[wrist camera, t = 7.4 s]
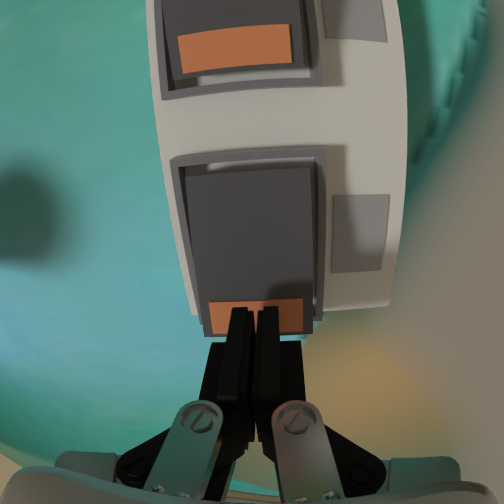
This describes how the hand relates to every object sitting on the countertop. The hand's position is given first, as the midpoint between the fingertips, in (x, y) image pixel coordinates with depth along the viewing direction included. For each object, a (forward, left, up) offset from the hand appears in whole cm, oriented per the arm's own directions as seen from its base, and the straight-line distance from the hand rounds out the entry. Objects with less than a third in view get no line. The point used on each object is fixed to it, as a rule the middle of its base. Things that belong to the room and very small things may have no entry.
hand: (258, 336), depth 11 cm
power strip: (-14, +1, -6) cm, 15 cm away
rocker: (-2, 0, -2) cm, 3 cm away
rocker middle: (-12, 0, -2) cm, 13 cm away
